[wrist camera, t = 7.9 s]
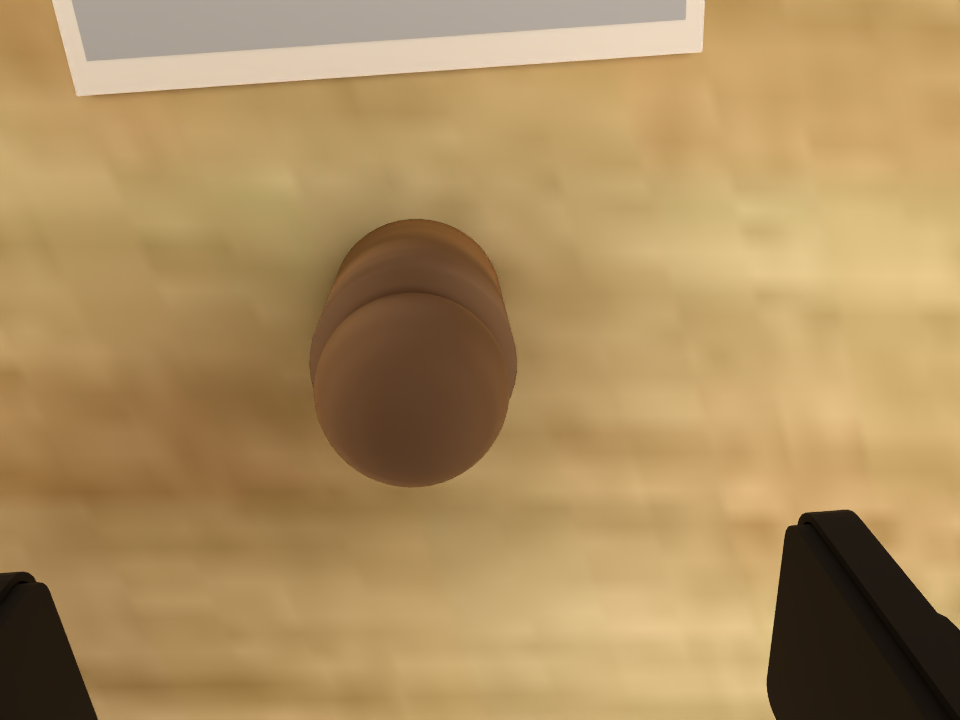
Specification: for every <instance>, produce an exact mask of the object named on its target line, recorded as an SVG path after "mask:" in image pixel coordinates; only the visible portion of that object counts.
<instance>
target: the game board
mask: <svg viewBox="0 0 960 720" xmlns="http://www.w3.org/2000/svg"><path fill="white" fill-rule="evenodd" d="M52 2H53V6H54V10H55V14H56V17H57V21H58V25H59V29H60V33H61V37H62V41H63V44H64V48H65V52H66V56H67V60H68V64H69V68H70V71H71V75H72V79H73V83H74V87H75V91H76V95H77V96H87V95H101V94H115V93H130V92H144V91H158V90H172V89H186V88H200V87H215V86H229V85H243V84H257V83H271V82H286V81H300V80H314V79H328V78H342V77H356V76H371V75H385V74H399V73H413V72H427V71H441V70H456V69H470V68H484V67H498V66H512V65H526V64H541V63H555V62H569V61H583V60H597V59H611V58H626V57H640V56H654V55H668V54H682V53H697V52H702V48H703V27H704V6H705V0H52Z"/></svg>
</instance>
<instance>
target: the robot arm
mask: <svg viewBox="0 0 960 720" xmlns="http://www.w3.org/2000/svg"><path fill="white" fill-rule="evenodd" d="M767 693H768V698H769V702H770V705H771V708H772V711H773V713H774V716H775V718H776V720H960V630H959V629H958V628H957V627H956V626H955V625H954V624H953V623H952V622H951V621H950V620H949V619H948V618H947V617H945V616H943V615H941V614H939V613H937V612H936V611H935V609H934V608H933V607H932V606H931V604H930V603H929V602H928V601H927V600H926V598H925V597H924V596H923V595H922V593H921V592H920V591H919V590H918V589H917V587H916V586H915V585H914V584H913V583H912V581H911V580H910V579H909V578H908V576H907V575H906V574H905V573H904V572H903V570H902V569H901V568H900V567H899V565H898V564H897V563H896V562H895V561H894V559H893V558H892V557H891V556H890V554H889V553H888V552H887V551H886V550H885V548H884V547H883V546H882V545H881V543H880V542H879V541H878V540H877V539H876V537H875V536H874V535H873V534H872V532H871V531H870V530H869V529H868V528H867V526H866V525H865V524H864V523H863V521H862V520H861V519H860V518H859V517H858V516H857V515H856V514H855V513H854V512H853V511H850V510H836V511H823V512H810V513H804V514H802V515H801V517H800V518H799V521H798V525H793V526H789V527H788V528H787V530H786V533H785V538H784V546H783V554H782V562H781V570H780V578H779V586H778V594H777V602H776V610H775V618H774V626H773V634H772V642H771V650H770V658H769V666H768V674H767ZM0 720H98V719H97V716H96V713H95V711H94V708H93V705H92V703H91V700H90V697H89V695H88V692H87V689H86V687H85V684H84V681H83V679H82V676H81V673H80V671H79V668H78V665H77V663H76V660H75V657H74V655H73V652H72V649H71V647H70V644H69V641H68V639H67V636H66V633H65V631H64V628H63V625H62V623H61V620H60V617H59V615H58V612H57V609H56V607H55V604H54V601H53V599H52V596H51V593H50V591H49V589H48V587H47V586H46V585H45V584H44V583H40V582H36V580H35V579H34V577H33V576H32V575H31V574H29V573H27V572H12V573H0Z"/></svg>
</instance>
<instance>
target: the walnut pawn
mask: <svg viewBox="0 0 960 720" xmlns="http://www.w3.org/2000/svg"><path fill="white" fill-rule="evenodd" d="M309 364H310V375H311V380H312V384H313V388H314V396H315V406H316V411H317V415H318V419H319V422H320V424H321V427H322V429H323V432H324V434H325V435H326V437H327V439H328V441H329V442H330V444H331V446H332V447H333V448H334V450H335V451H336V452H337V453H338V454H339V455H340V456H341V457H342V458H343V459H344V460H345V461H346V462H347V463H348V464H349V465H350V466H352V467H353V468H354V469H355V470H357V471H358V472H360V473H362V474H363V475H365V476H367V477H369V478H371V479H373V480H376V481H378V482H382V483H385V484H389V485H394V486H400V487H423V486H430V485H434V484H438V483H442V482H445V481H447V480H450V479H452V478H454V477H456V476H458V475H460V474H462V473H463V472H465V471H466V470H467V469H469V468H470V467H472V466H473V465H474V464H475V463H476V462H478V461H479V460H480V459H481V458H482V457H483V456H484V455H485V453H486V452H487V451H488V450H489V449H490V447H491V446H492V444H493V443H494V441H495V440H496V438H497V436H498V434H499V432H500V430H501V428H502V426H503V423H504V420H505V417H506V413H507V409H508V403H509V399H510V397H511V394H512V391H513V388H514V385H515V379H516V373H517V356H516V348H515V344H514V340H513V336H512V332H511V328H510V325H509V321H508V317H507V313H506V309H505V305H504V301H503V298H502V294H501V290H500V286H499V282H498V278H497V275H496V272H495V270H494V267H493V265H492V263H491V262H490V260H489V258H488V257H487V255H486V254H485V252H484V251H483V250H482V249H481V247H480V246H479V245H478V244H477V243H476V242H474V241H473V240H472V239H471V238H470V237H468V236H467V235H466V234H464V233H463V232H461V231H459V230H457V229H456V228H454V227H451V226H449V225H446V224H444V223H440V222H436V221H432V220H423V219H409V220H401V221H396V222H393V223H389V224H386V225H384V226H382V227H379V228H377V229H375V230H374V231H372V232H370V233H369V234H367V235H366V236H365V237H363V238H362V239H361V240H360V241H359V242H358V243H357V244H356V245H355V246H354V247H353V248H352V249H351V250H350V252H349V253H348V255H347V256H346V257H345V259H344V261H343V263H342V265H341V267H340V270H339V272H338V275H337V277H336V280H335V282H334V285H333V287H332V290H331V292H330V295H329V297H328V300H327V303H326V305H325V308H324V310H323V313H322V315H321V318H320V320H319V323H318V325H317V328H316V331H315V334H314V337H313V339H312V344H311V350H310V363H309Z"/></svg>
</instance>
